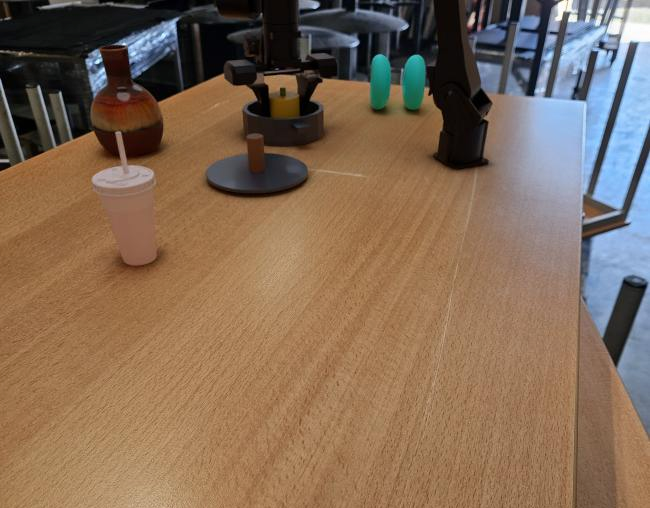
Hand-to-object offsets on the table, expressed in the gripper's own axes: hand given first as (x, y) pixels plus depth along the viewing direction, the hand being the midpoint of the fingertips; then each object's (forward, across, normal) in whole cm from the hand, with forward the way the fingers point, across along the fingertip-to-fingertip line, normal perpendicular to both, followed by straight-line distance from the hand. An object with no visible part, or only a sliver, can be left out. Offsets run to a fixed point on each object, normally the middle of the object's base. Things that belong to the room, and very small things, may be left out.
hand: (283, 121), depth 101 cm
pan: (+2, 0, 0) cm, 2 cm away
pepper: (+2, 0, 0) cm, 2 cm away
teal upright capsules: (+2, -26, -6) cm, 27 cm away
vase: (+2, +26, -2) cm, 26 cm away
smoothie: (+2, +31, +36) cm, 48 cm away
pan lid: (+2, +11, +18) cm, 21 cm away
